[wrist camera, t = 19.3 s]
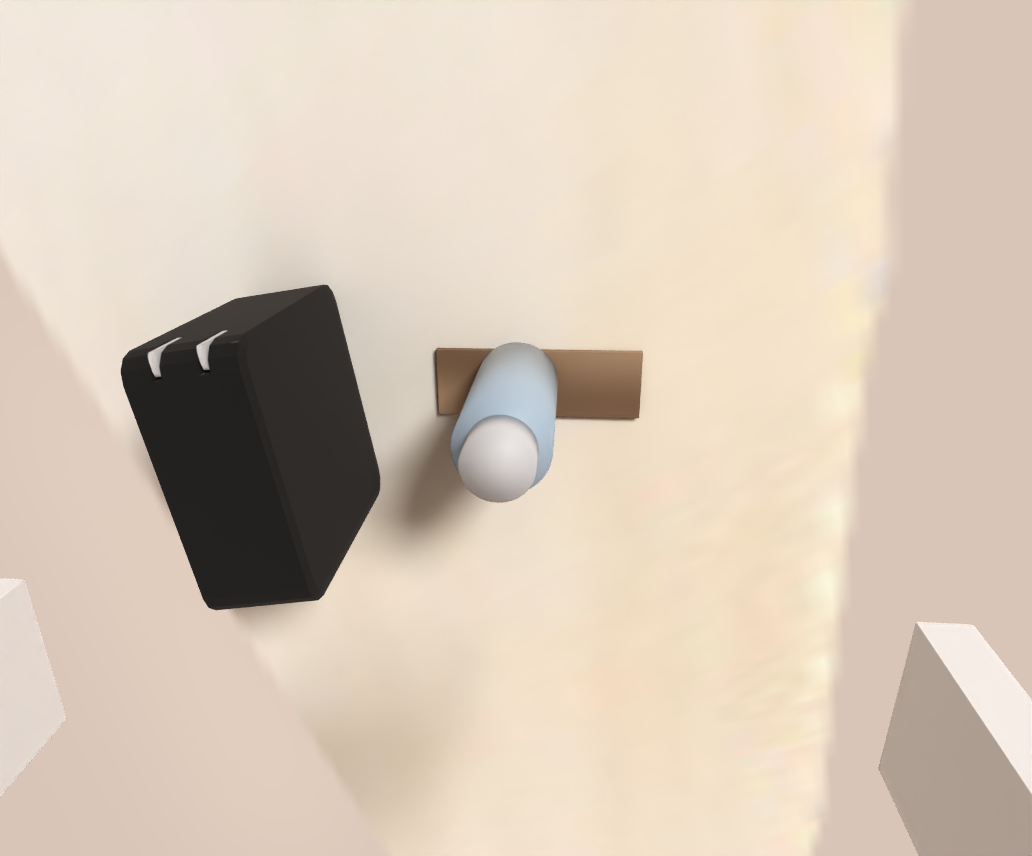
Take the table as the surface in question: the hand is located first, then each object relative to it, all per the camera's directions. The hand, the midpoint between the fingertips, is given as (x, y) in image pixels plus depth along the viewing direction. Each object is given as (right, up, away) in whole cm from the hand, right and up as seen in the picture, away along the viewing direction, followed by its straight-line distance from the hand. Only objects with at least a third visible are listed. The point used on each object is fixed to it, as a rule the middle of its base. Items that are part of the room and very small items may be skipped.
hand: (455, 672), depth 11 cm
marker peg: (+1, +6, +22) cm, 22 cm away
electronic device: (-8, +5, +23) cm, 25 cm away
